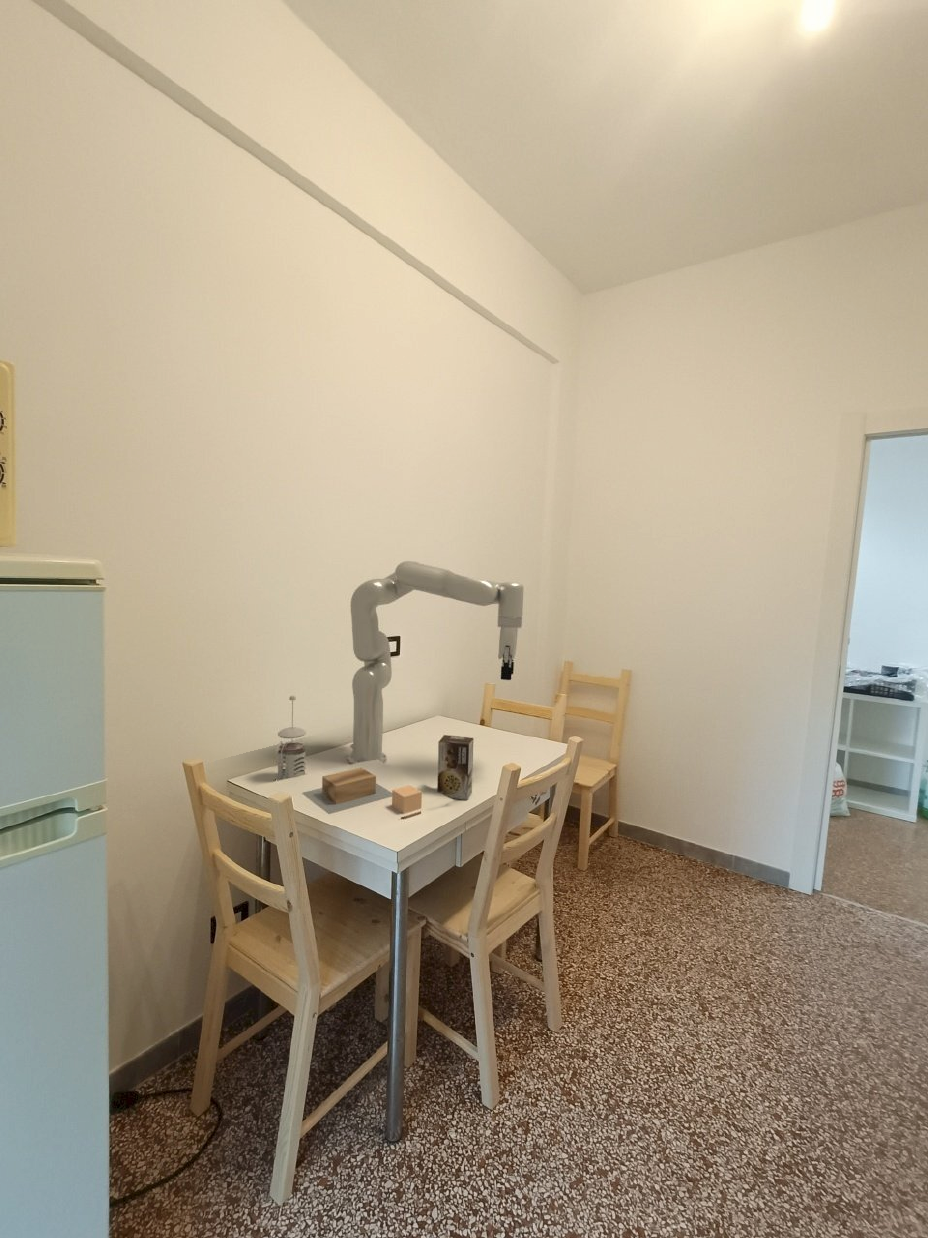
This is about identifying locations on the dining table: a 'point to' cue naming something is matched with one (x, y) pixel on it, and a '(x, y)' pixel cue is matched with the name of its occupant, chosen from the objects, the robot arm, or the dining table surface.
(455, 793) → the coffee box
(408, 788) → the peach cube
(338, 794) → the walnut brick
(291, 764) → the french press
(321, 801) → the base plate
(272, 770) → the dining table surface
